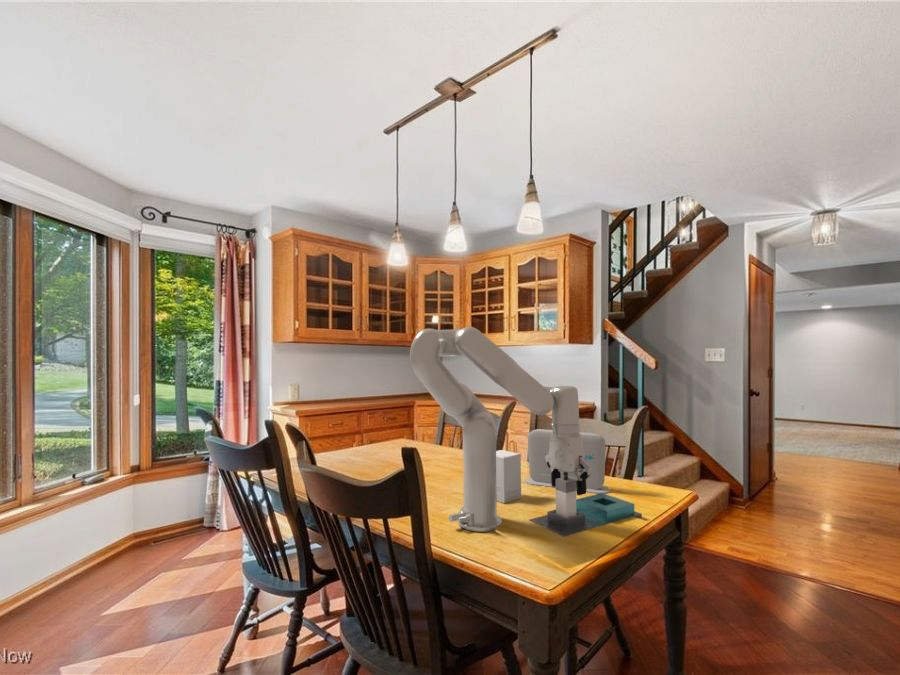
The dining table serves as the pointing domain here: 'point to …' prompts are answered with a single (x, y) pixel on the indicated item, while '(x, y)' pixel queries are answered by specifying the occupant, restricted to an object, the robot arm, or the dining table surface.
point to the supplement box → (508, 476)
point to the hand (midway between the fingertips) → (568, 489)
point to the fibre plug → (566, 496)
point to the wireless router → (542, 475)
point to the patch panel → (588, 515)
